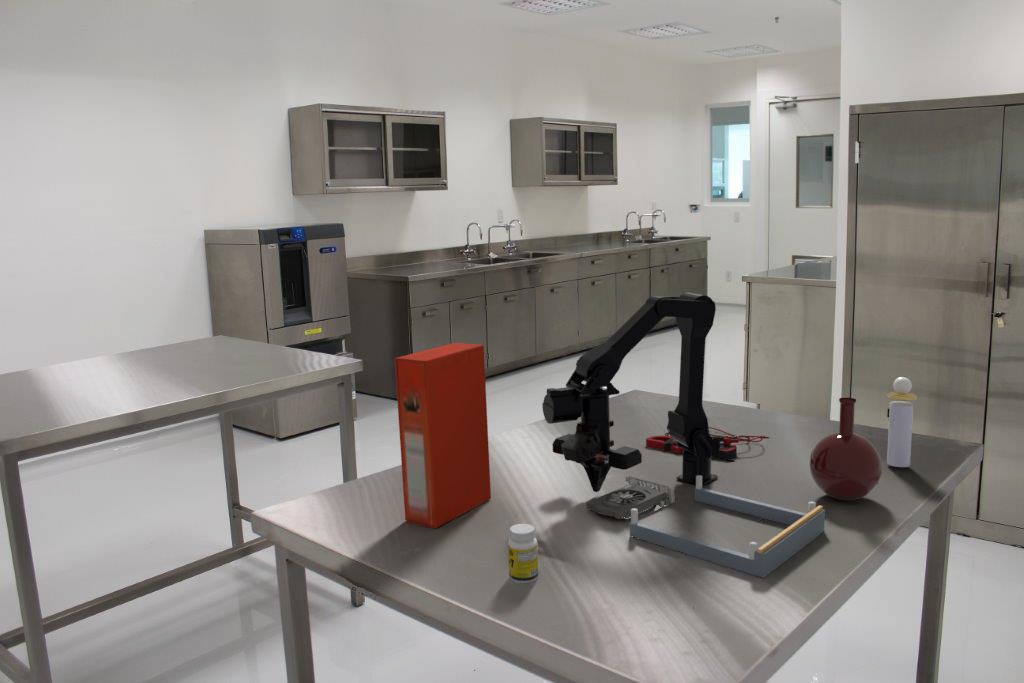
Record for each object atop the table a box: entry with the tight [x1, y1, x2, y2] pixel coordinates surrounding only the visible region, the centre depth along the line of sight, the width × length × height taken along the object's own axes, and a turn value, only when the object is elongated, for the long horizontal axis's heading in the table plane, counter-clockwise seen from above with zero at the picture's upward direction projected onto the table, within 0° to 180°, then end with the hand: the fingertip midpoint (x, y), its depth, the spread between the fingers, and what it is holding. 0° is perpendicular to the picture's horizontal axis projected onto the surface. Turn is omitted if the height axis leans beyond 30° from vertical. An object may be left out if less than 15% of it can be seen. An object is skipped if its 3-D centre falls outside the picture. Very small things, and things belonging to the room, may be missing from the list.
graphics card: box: [586, 475, 676, 519], centre depth 160 cm, size 17×4×12 cm
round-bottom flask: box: [808, 397, 883, 501], centre depth 159 cm, size 13×13×20 cm
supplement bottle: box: [507, 523, 539, 584], centre depth 131 cm, size 5×5×8 cm
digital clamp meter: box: [645, 426, 771, 461], centre depth 198 cm, size 23×4×25 cm
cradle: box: [629, 475, 826, 579], centre depth 145 cm, size 23×26×5 cm
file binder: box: [394, 342, 492, 529], centre depth 158 cm, size 8×17×32 cm, turn 145°
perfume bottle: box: [886, 376, 918, 468], centre depth 175 cm, size 6×6×20 cm
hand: (596, 491), depth 166 cm, fingers closed
